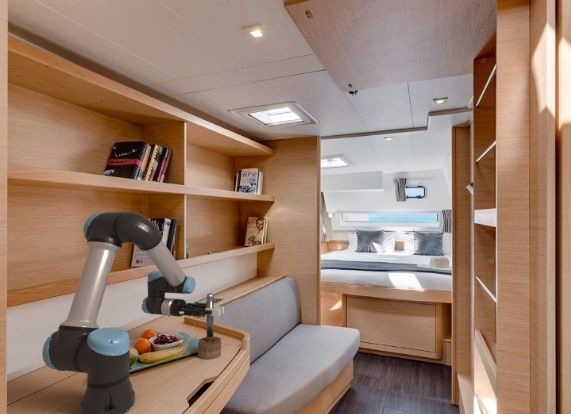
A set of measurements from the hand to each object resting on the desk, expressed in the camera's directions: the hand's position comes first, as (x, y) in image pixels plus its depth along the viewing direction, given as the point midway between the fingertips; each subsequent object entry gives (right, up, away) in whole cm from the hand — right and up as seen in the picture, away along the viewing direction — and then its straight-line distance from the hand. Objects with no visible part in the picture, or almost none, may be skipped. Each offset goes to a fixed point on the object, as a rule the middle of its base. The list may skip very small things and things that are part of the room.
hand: (221, 311), depth 138 cm
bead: (-5, -19, +1) cm, 20 cm away
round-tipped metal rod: (-5, -11, +1) cm, 12 cm away
